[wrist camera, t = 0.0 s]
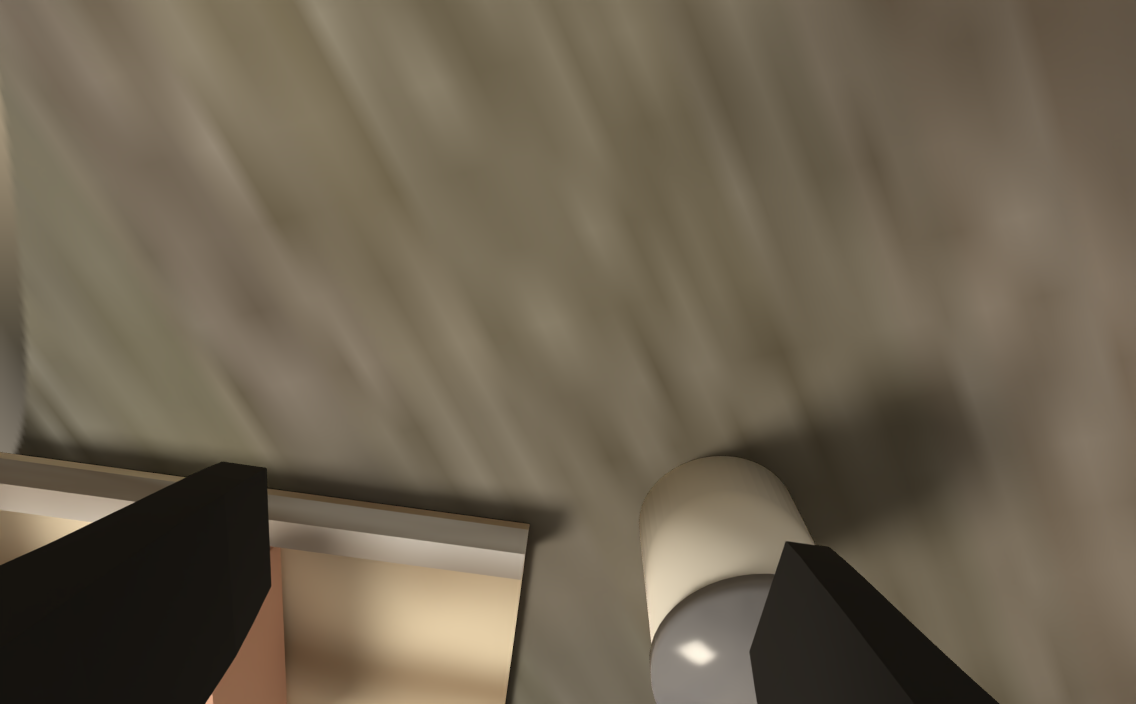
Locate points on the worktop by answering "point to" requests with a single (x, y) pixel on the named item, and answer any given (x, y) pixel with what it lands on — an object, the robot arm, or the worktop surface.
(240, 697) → the pusher
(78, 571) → the robot arm
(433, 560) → the lane
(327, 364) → the worktop surface
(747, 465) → the jar
